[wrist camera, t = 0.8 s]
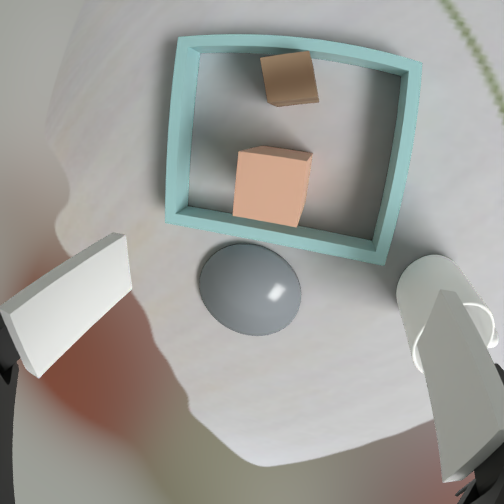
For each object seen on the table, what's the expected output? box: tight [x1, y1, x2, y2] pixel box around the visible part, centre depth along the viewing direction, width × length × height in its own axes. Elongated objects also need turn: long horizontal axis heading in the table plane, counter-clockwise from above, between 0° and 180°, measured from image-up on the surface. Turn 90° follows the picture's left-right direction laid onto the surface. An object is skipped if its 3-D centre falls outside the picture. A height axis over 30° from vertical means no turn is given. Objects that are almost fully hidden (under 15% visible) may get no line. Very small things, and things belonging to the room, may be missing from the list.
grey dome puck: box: [200, 244, 301, 336], centre depth 35 cm, size 12×12×1 cm
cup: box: [396, 255, 499, 373], centre depth 25 cm, size 8×12×10 cm
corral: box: [165, 34, 422, 266], centre depth 26 cm, size 19×22×3 cm
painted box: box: [233, 146, 313, 227], centre depth 25 cm, size 5×5×8 cm
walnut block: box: [260, 51, 319, 107], centre depth 23 cm, size 4×4×5 cm
